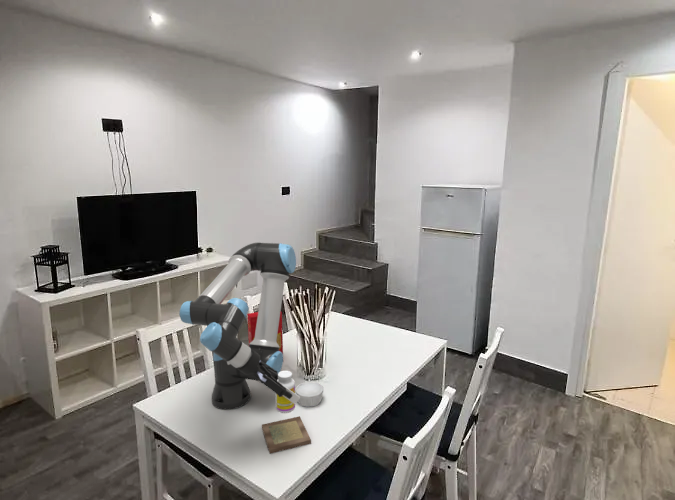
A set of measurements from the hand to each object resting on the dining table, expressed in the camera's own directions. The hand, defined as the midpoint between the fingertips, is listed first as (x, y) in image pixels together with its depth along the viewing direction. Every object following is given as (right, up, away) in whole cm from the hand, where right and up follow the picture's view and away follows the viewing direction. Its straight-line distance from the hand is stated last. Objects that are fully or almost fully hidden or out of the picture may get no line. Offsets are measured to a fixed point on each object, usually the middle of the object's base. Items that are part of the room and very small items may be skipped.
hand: (294, 394), depth 141 cm
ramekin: (+4, -11, +24) cm, 26 cm away
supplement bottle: (-3, -5, 0) cm, 6 cm away
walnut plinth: (-3, -15, +2) cm, 15 cm away
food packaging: (-19, -4, +54) cm, 57 cm away
